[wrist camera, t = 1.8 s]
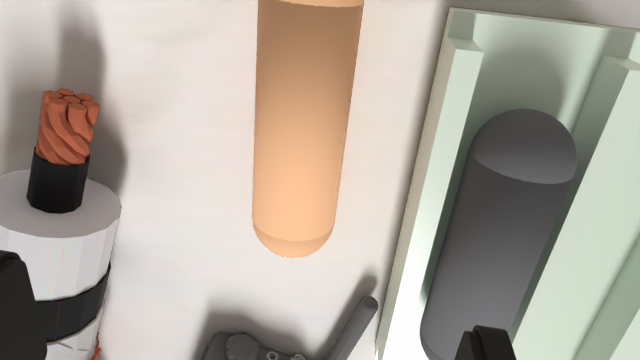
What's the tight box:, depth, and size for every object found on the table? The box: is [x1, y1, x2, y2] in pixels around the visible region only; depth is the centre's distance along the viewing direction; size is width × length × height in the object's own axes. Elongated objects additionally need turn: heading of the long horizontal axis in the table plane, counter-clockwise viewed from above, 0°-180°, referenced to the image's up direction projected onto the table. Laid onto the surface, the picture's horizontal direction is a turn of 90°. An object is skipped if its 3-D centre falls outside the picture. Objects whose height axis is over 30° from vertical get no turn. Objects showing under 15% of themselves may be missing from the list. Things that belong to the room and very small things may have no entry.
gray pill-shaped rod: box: [420, 109, 577, 360], centre depth 21 cm, size 14×4×4 cm, turn 175°
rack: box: [375, 7, 640, 360], centre depth 22 cm, size 20×18×3 cm
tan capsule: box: [252, 0, 364, 258], centre depth 20 cm, size 14×4×4 cm, turn 175°
